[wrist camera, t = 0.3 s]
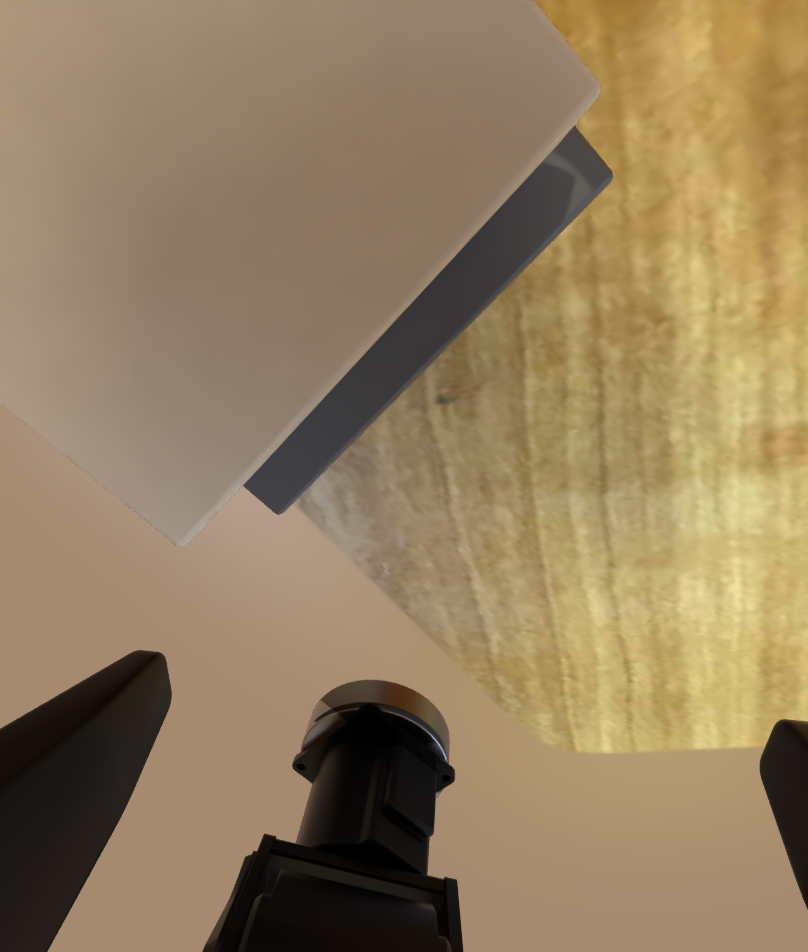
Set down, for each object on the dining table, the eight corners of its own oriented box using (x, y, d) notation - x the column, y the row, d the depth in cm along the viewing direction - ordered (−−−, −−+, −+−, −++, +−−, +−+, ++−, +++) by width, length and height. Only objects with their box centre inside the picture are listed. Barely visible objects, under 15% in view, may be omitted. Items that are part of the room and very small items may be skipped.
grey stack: (378, 381, 19) (282, 522, 9) (108, 121, 17) (-419, -76, 7) (528, 225, 17) (623, 182, 7) (237, -103, 15) (-281, -916, 4)
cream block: (250, 477, 9) (179, 552, 7) (-352, -41, 7) (-737, -180, 5) (560, 142, 7) (609, 86, 4) (-199, -765, 5) (-791, -1672, 2)
